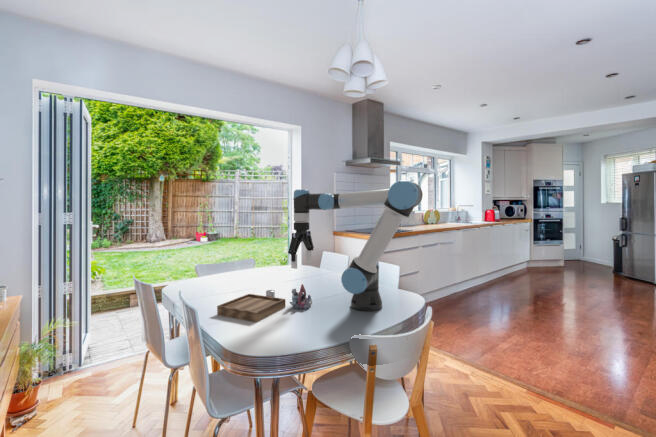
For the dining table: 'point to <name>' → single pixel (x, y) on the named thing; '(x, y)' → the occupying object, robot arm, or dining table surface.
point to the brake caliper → (301, 299)
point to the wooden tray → (251, 307)
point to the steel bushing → (270, 293)
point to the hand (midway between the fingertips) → (301, 265)
